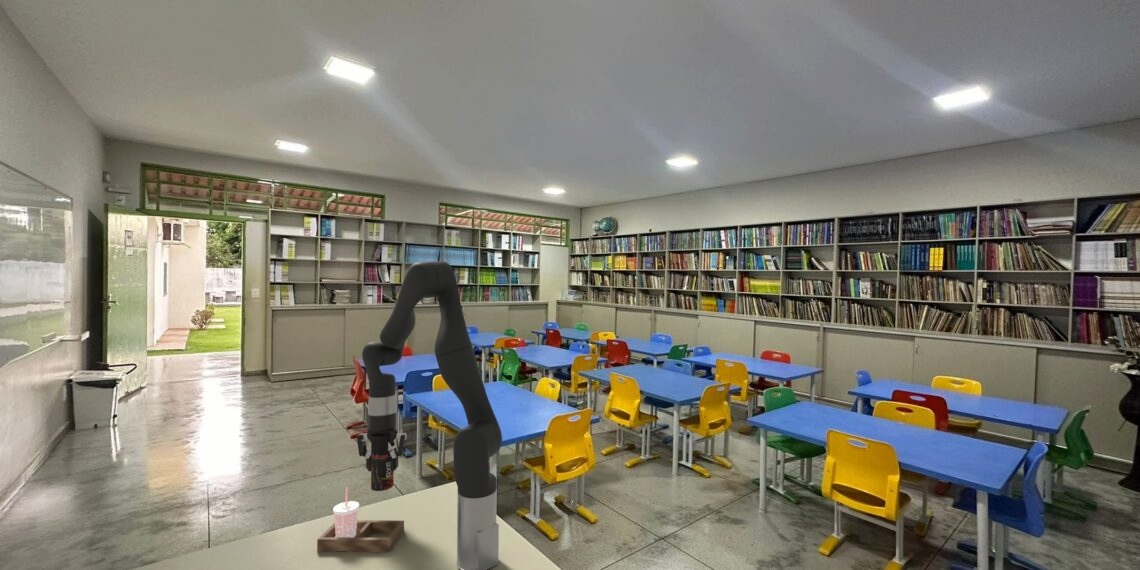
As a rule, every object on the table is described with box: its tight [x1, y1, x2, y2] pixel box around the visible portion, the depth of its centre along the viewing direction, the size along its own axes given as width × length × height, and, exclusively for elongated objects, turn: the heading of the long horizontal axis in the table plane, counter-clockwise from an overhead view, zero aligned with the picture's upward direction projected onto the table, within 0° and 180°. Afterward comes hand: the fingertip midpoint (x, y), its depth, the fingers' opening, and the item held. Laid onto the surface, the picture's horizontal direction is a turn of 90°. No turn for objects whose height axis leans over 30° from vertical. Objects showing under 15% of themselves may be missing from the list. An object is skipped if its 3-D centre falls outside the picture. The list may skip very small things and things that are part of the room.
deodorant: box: [370, 435, 395, 492], centre depth 128 cm, size 6×6×15 cm
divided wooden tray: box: [316, 519, 405, 553], centre depth 117 cm, size 18×10×3 cm, turn 90°
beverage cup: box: [332, 486, 360, 537], centre depth 117 cm, size 6×6×14 cm
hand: (382, 470), depth 128 cm, fingers closed on deodorant, 6 cm apart
